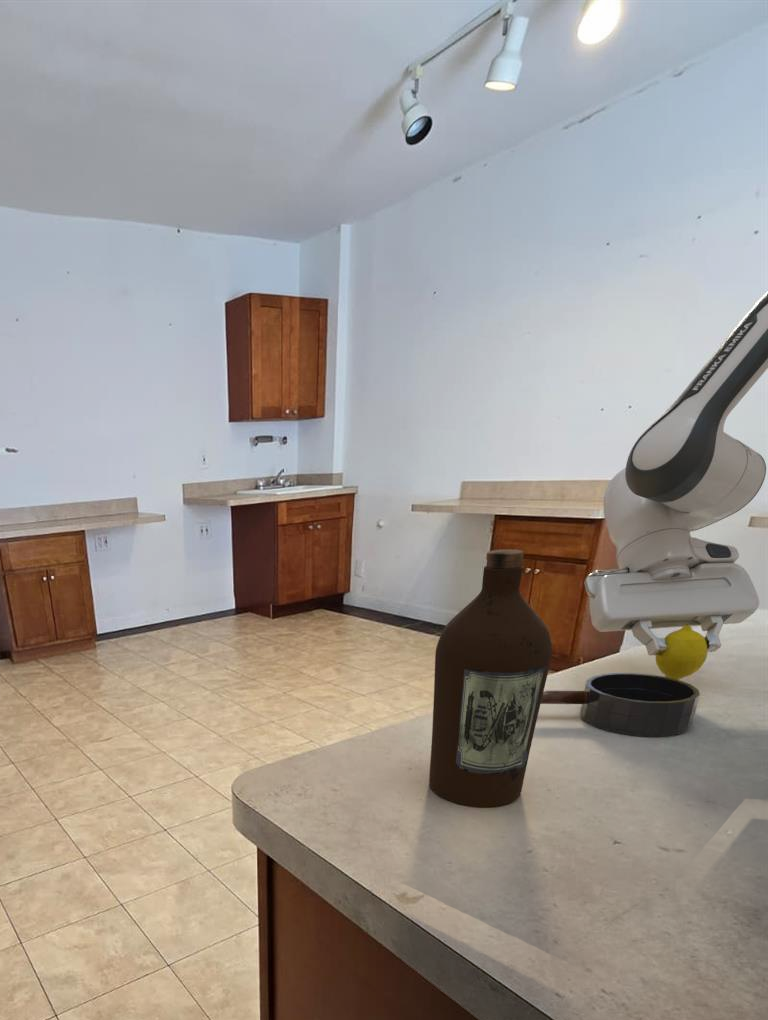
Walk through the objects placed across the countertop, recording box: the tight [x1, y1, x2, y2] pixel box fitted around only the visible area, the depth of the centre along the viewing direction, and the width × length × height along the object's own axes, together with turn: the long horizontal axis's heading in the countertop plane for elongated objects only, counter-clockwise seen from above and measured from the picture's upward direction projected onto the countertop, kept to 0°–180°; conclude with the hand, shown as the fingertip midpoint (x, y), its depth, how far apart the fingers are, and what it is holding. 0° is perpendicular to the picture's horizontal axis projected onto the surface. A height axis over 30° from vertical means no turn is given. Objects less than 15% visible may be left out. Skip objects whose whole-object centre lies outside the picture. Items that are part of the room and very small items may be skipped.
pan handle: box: [540, 689, 588, 705], centre depth 86 cm, size 11×2×2 cm, turn 77°
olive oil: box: [428, 548, 553, 808], centre depth 65 cm, size 11×11×25 cm
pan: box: [579, 672, 701, 738], centre depth 83 cm, size 12×12×4 cm
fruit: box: [655, 624, 708, 681], centre depth 87 cm, size 6×6×8 cm
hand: (685, 651), depth 86 cm, fingers closed on fruit, 5 cm apart
